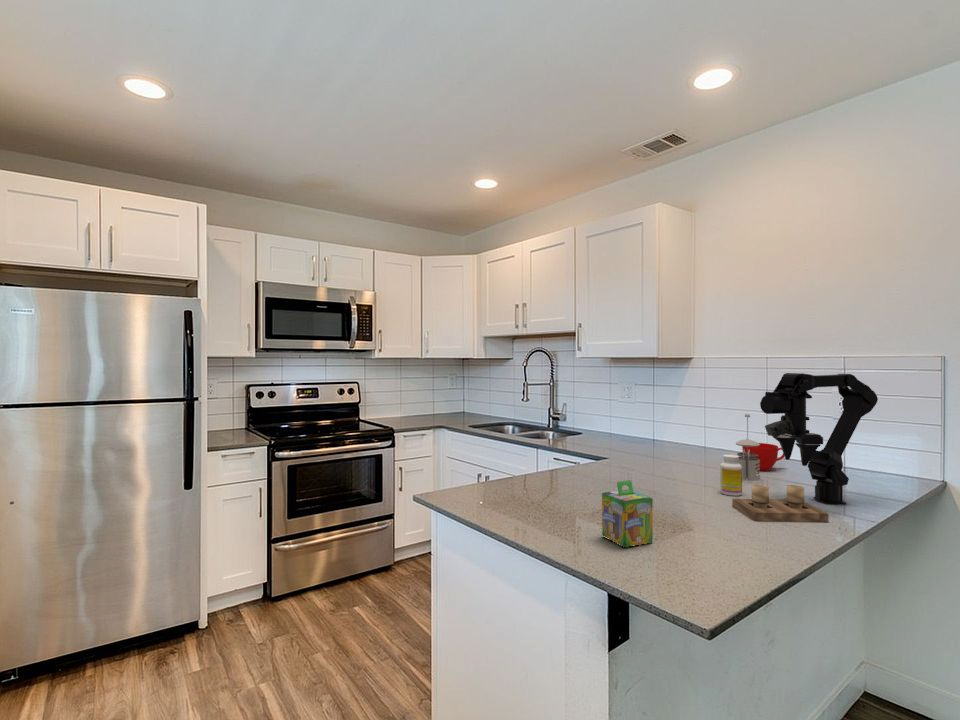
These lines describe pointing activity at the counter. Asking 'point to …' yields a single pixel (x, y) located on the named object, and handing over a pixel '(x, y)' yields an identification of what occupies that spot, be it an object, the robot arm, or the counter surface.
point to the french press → (749, 460)
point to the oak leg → (795, 496)
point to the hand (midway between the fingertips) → (795, 462)
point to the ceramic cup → (765, 455)
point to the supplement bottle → (731, 476)
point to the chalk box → (627, 516)
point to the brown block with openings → (776, 508)
